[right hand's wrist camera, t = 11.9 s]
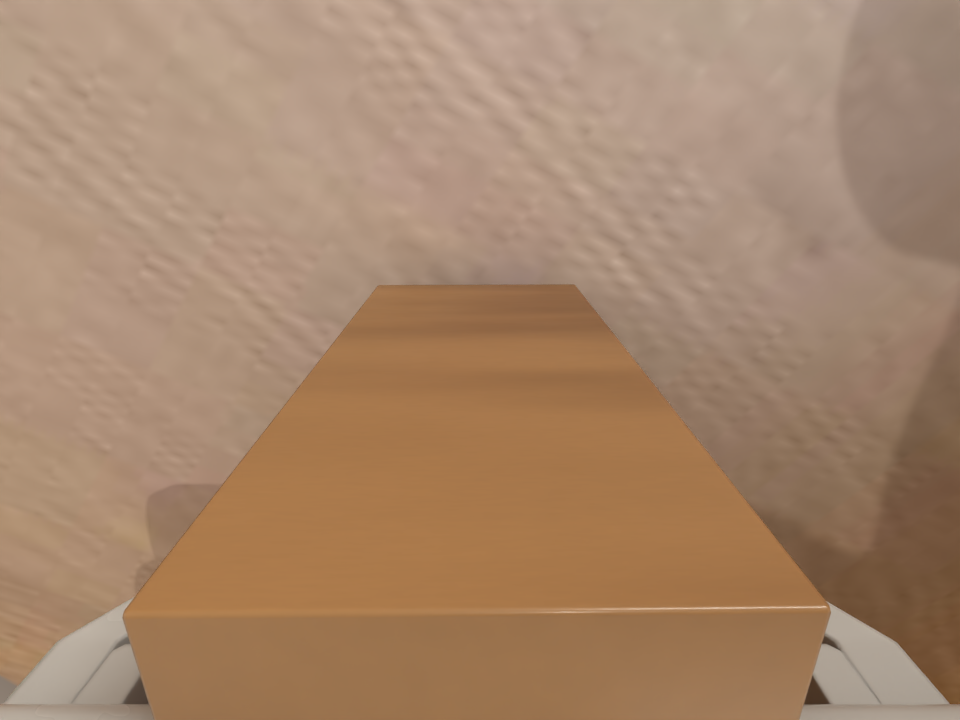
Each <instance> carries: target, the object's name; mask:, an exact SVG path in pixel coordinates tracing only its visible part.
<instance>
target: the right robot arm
mask: <svg viewBox="0 0 960 720" xmlns="http://www.w3.org/2000/svg"><path fill="white" fill-rule="evenodd" d="M133 599H134V597H133V598H131V599H130V600H128V601H126V602H125V603H123V604H121V605H119V606H118V607H116V608H114V609H112V610H111V611H109V612H107V613H105V614H104V615H102V616H100V617H99V618H97V619H95V620H93V621H92V622H90V623H88V624H86V625H85V626H83V627H81V628H80V629H78V630H76V631H74V632H73V633H71V634H69V635H67V636H66V637H64V638H62V639H61V640H59V641H57V642H56V643H55V645H54V646H53V647H52V648H51V649H50V650H49V651H48V653H47V654H46V655H45V656H44V657H43V658H42V659H41V660H40V662H39V663H38V664H37V665H36V666H35V667H34V668H33V669H32V671H31V672H30V673H29V674H28V675H27V676H26V677H25V679H24V680H23V681H22V682H21V683H20V684H19V685H18V686H17V688H16V689H15V690H14V691H13V692H12V693H11V694H10V696H9V697H8V698H7V699H6V700H5V701H4V702H3V703H2V704H0V720H154V719H153V715H152V712H151V709H150V706H149V702H148V699H147V696H146V693H145V690H144V686H143V683H142V680H141V677H140V673H139V670H138V667H137V664H136V661H135V657H134V654H133V651H132V648H131V644H130V641H129V638H128V635H127V632H126V628H125V625H124V622H123V619H122V617H123V613H124V610H125V609H126V608H127V606H128V605H129V604H130V602H131V601H132V600H133ZM826 602H827V601H826ZM827 603H828V604H829V606H830V609H831V615H830V618H829V621H828V625H827V628H826V631H825V635H824V638H823V641H822V645H821V648H820V652H819V655H818V658H817V662H816V665H815V668H814V672H813V675H812V679H811V682H810V685H809V689H808V692H807V695H806V699H805V702H804V706H803V709H802V712H801V716H800V719H799V720H960V704H950V703H949V702H948V701H947V700H946V699H945V698H944V697H943V695H942V694H941V693H940V692H939V691H938V690H937V688H936V687H935V686H934V685H933V684H932V683H931V682H930V680H929V679H928V678H927V677H926V676H925V675H924V673H923V672H922V671H921V670H920V669H919V668H918V666H917V665H916V664H915V663H914V662H913V661H912V660H911V658H910V657H909V656H908V655H907V654H906V653H905V651H904V650H903V649H902V648H901V647H900V646H899V644H898V643H897V642H895V641H894V640H892V639H890V638H888V637H887V636H885V635H883V634H882V633H880V632H878V631H877V630H875V629H873V628H871V627H870V626H868V625H866V624H865V623H863V622H861V621H859V620H858V619H856V618H854V617H853V616H851V615H849V614H848V613H846V612H844V611H842V610H841V609H839V608H837V607H836V606H834V605H832V604H830V603H829V602H827Z"/></svg>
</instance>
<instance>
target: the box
mask: <svg viewBox="0 0 960 720" xmlns="http://www.w3.org/2000/svg"><path fill="white" fill-rule="evenodd" d="M830 615H831V609H830V606H829V604H828V603H827V602H826V600H825V599H824V598H823V597H822V595H821V594H820V593H819V592H818V590H817V589H816V588H815V587H814V585H813V584H812V583H811V582H810V580H809V579H808V578H807V577H806V575H805V574H804V573H803V572H802V570H801V569H800V568H799V566H798V565H797V564H796V563H795V561H794V560H793V559H792V558H791V556H790V555H789V554H788V553H787V551H786V550H785V549H784V548H783V546H782V545H781V544H780V543H779V541H778V540H777V539H776V538H775V536H774V535H773V534H772V533H771V531H770V530H769V529H768V527H767V526H766V525H765V524H764V522H763V521H762V520H761V519H760V517H759V516H758V515H757V514H756V512H755V511H754V510H753V509H752V507H751V506H750V505H749V504H748V502H747V501H746V500H745V499H744V497H743V496H742V495H741V494H740V492H739V491H738V490H737V488H736V487H735V486H734V485H733V483H732V482H731V481H730V480H729V478H728V477H727V476H726V475H725V473H724V472H723V471H722V470H721V468H720V467H719V466H718V465H717V463H716V462H715V461H714V460H713V458H712V457H711V456H710V454H709V453H708V452H707V451H706V449H705V448H704V447H703V446H702V444H701V443H700V442H699V441H698V439H697V438H696V437H695V436H694V434H693V433H692V432H691V431H690V429H689V428H688V427H687V426H686V424H685V423H684V422H683V421H682V419H681V418H680V417H679V415H678V414H677V413H676V412H675V410H674V409H673V408H672V407H671V405H670V404H669V403H668V402H667V400H666V399H665V398H664V397H663V395H662V394H661V393H660V392H659V390H658V389H657V388H656V387H655V385H654V384H653V383H652V382H651V380H650V379H649V378H648V376H647V375H646V374H645V373H644V371H643V370H642V369H641V368H640V366H639V365H638V364H637V363H636V361H635V360H634V359H633V358H632V356H631V355H630V354H629V353H628V351H627V350H626V349H625V348H624V346H623V345H622V344H621V342H620V341H619V340H618V339H617V337H616V336H615V335H614V334H613V332H612V331H611V330H610V329H609V327H608V326H607V325H606V324H605V322H604V321H603V320H602V319H601V317H600V316H599V315H598V314H597V312H596V311H595V310H594V309H593V307H592V306H591V305H590V303H589V302H588V301H587V300H586V298H585V297H584V296H583V295H582V293H581V292H580V291H579V290H578V288H577V287H576V286H575V285H379V286H377V288H376V289H375V290H374V291H373V293H372V294H371V295H370V297H369V298H368V299H367V300H366V302H365V303H364V304H363V306H362V307H361V308H360V309H359V311H358V312H357V313H356V314H355V316H354V317H353V318H352V320H351V321H350V322H349V323H348V325H347V326H346V327H345V329H344V330H343V331H342V332H341V334H340V335H339V336H338V338H337V339H336V340H335V341H334V343H333V344H332V345H331V346H330V348H329V349H328V350H327V352H326V353H325V354H324V355H323V357H322V358H321V359H320V361H319V362H318V363H317V364H316V366H315V367H314V368H313V370H312V371H311V372H310V373H309V375H308V376H307V377H306V378H305V380H304V381H303V382H302V384H301V385H300V386H299V387H298V389H297V390H296V391H295V393H294V394H293V395H292V396H291V398H290V399H289V400H288V401H287V403H286V404H285V405H284V407H283V408H282V409H281V410H280V412H279V413H278V414H277V416H276V417H275V418H274V419H273V421H272V422H271V423H270V425H269V426H268V427H267V428H266V430H265V431H264V432H263V433H262V435H261V436H260V437H259V439H258V440H257V441H256V442H255V444H254V445H253V446H252V448H251V449H250V450H249V451H248V453H247V454H246V455H245V457H244V458H243V459H242V460H241V462H240V463H239V464H238V465H237V467H236V468H235V469H234V471H233V472H232V473H231V474H230V476H229V477H228V478H227V480H226V481H225V482H224V483H223V485H222V486H221V487H220V489H219V490H218V491H217V492H216V494H215V495H214V496H213V497H212V499H211V500H210V501H209V503H208V504H207V505H206V506H205V508H204V509H203V510H202V512H201V513H200V514H199V515H198V517H197V518H196V519H195V520H194V522H193V523H192V524H191V526H190V527H189V528H188V529H187V531H186V532H185V533H184V535H183V536H182V537H181V538H180V540H179V541H178V542H177V544H176V545H175V546H174V547H173V549H172V550H171V551H170V552H169V554H168V555H167V556H166V558H165V559H164V560H163V561H162V563H161V564H160V565H159V567H158V568H157V569H156V570H155V572H154V573H153V574H152V576H151V577H150V578H149V579H148V581H147V582H146V583H145V584H144V586H143V587H142V588H141V590H140V591H139V592H138V593H137V595H136V596H135V597H134V599H133V600H132V601H131V602H130V604H129V605H128V606H127V608H126V609H125V610H124V613H123V617H122V619H123V622H124V625H125V628H126V632H127V635H128V638H129V641H130V644H131V648H132V651H133V654H134V657H135V661H136V664H137V667H138V670H139V673H140V677H141V680H142V683H143V686H144V690H145V693H146V696H147V699H148V702H149V706H150V709H151V712H152V715H153V719H154V720H799V719H800V716H801V712H802V709H803V706H804V702H805V699H806V695H807V692H808V689H809V685H810V682H811V679H812V675H813V672H814V668H815V665H816V662H817V658H818V655H819V652H820V648H821V645H822V641H823V638H824V635H825V631H826V628H827V625H828V621H829V618H830Z"/></svg>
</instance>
